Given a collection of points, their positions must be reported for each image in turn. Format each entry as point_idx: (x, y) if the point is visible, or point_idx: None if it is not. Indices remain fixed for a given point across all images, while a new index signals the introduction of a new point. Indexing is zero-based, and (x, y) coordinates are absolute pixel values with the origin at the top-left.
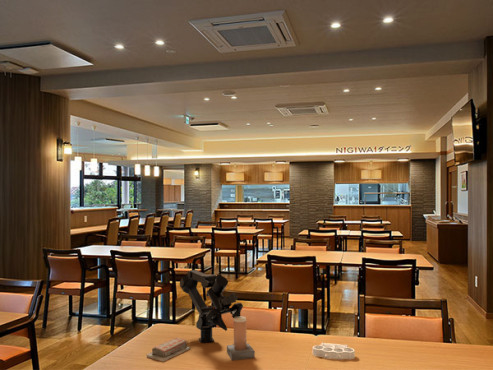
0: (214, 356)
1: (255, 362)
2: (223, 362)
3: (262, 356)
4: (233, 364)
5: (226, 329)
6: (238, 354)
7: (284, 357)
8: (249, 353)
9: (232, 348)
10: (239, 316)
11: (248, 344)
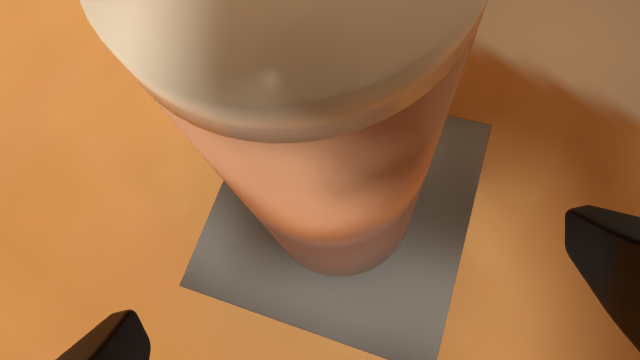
0: (598, 336)
1: None
2: (567, 152)
3: None
4: (503, 77)
5: (589, 209)
6: None
7: None
8: None
9: (421, 239)
10: (175, 61)
11: (205, 249)
